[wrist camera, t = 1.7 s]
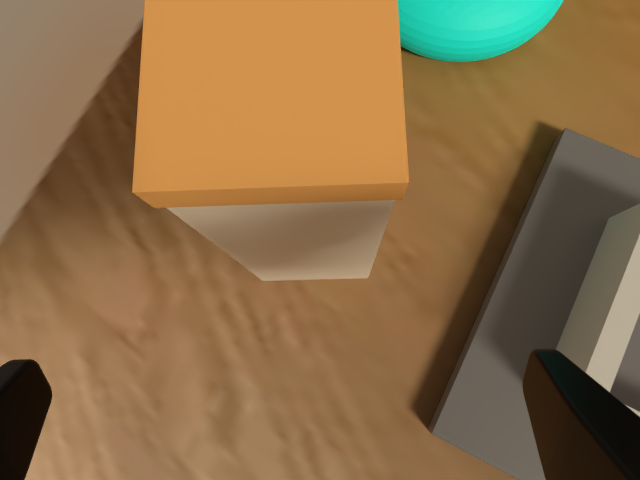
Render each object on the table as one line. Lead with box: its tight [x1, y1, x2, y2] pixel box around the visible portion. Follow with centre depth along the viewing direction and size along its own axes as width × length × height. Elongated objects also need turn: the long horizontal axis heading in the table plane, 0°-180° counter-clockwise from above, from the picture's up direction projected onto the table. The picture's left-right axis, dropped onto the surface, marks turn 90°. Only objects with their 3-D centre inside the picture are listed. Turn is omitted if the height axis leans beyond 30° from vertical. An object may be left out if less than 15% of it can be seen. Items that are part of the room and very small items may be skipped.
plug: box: [132, 0, 409, 281], centre depth 15 cm, size 5×5×13 cm
